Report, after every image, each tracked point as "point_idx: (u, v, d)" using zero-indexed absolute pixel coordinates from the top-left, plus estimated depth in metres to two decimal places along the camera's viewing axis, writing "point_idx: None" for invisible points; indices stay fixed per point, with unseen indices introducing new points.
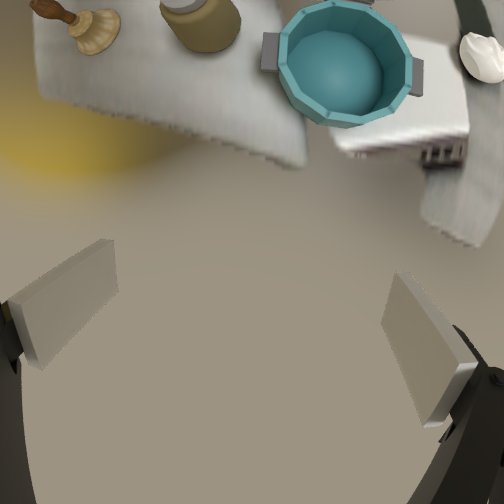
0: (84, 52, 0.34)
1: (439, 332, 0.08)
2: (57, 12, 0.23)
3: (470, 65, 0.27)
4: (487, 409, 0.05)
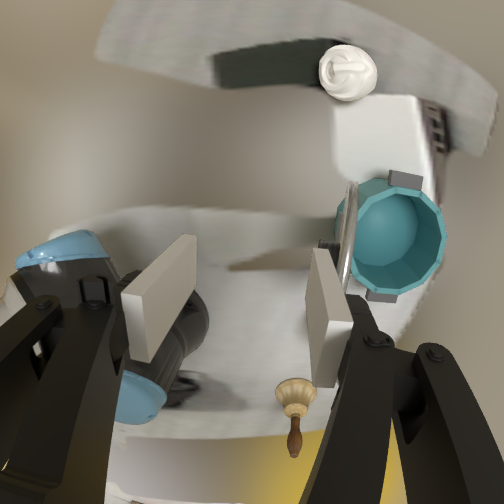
0: None
1: (324, 295, 0.10)
2: (299, 434, 0.46)
3: None
4: (365, 372, 0.07)
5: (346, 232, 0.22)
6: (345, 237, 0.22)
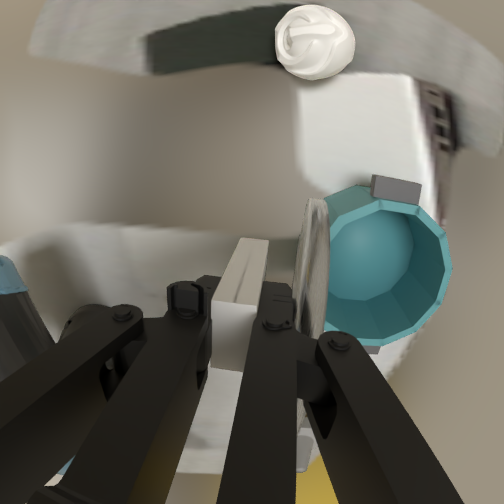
0: None
1: (240, 280, 0.11)
2: None
3: (338, 72, 0.25)
4: (265, 357, 0.07)
5: (307, 314, 0.11)
6: (305, 324, 0.11)
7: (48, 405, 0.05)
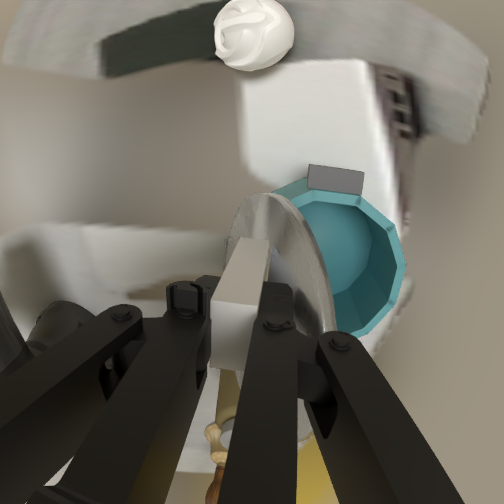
0: None
1: (240, 280, 0.11)
2: None
3: (277, 60, 0.24)
4: (265, 357, 0.07)
5: (319, 313, 0.11)
6: (320, 324, 0.11)
7: (47, 405, 0.05)
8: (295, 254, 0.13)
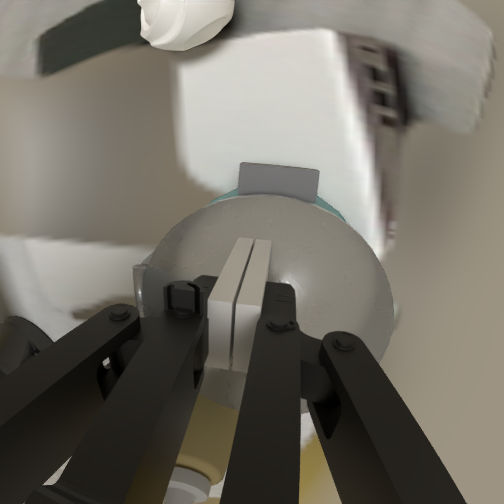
0: None
1: (243, 281, 0.11)
2: None
3: (210, 33, 0.18)
4: (269, 357, 0.07)
5: (385, 274, 0.15)
6: None
7: (46, 404, 0.05)
8: (348, 242, 0.15)
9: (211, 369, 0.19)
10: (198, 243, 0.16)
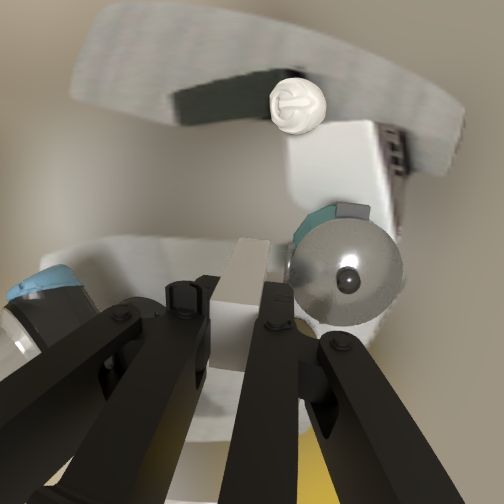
0: None
1: (241, 281, 0.11)
2: None
3: None
4: (266, 357, 0.07)
5: (398, 250, 0.36)
6: (399, 253, 0.36)
7: (47, 405, 0.05)
8: (383, 237, 0.36)
9: (320, 300, 0.40)
10: (323, 238, 0.37)
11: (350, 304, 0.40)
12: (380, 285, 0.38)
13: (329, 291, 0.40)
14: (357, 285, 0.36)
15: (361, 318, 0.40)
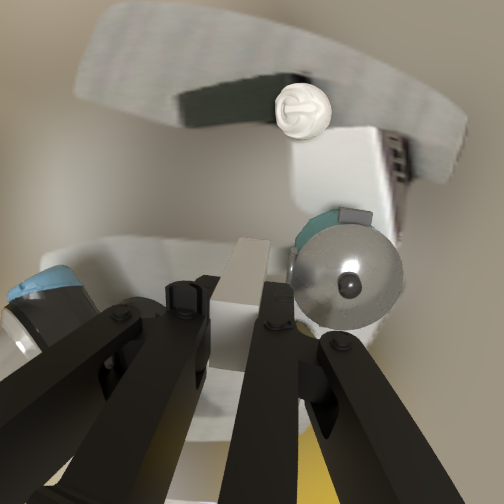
0: None
1: (241, 280, 0.11)
2: None
3: (319, 133, 0.39)
4: (266, 357, 0.07)
5: (399, 256, 0.37)
6: (400, 259, 0.37)
7: (47, 405, 0.05)
8: (385, 243, 0.36)
9: (321, 304, 0.41)
10: (326, 243, 0.38)
11: (350, 308, 0.40)
12: (380, 290, 0.39)
13: (330, 295, 0.40)
14: (358, 290, 0.37)
15: (361, 322, 0.41)
